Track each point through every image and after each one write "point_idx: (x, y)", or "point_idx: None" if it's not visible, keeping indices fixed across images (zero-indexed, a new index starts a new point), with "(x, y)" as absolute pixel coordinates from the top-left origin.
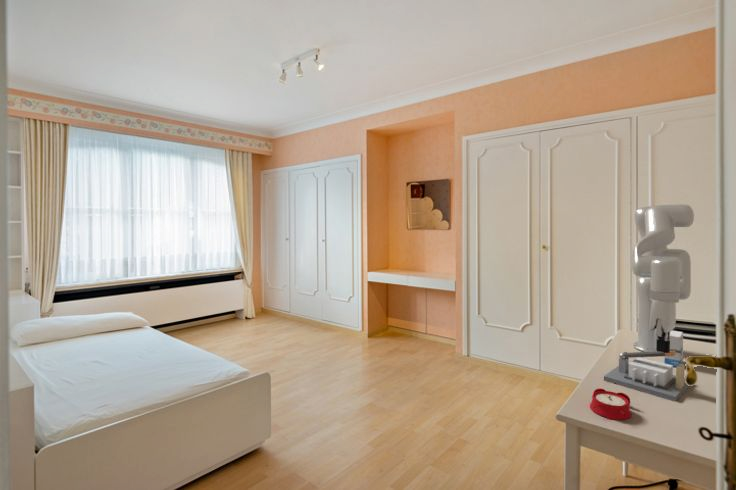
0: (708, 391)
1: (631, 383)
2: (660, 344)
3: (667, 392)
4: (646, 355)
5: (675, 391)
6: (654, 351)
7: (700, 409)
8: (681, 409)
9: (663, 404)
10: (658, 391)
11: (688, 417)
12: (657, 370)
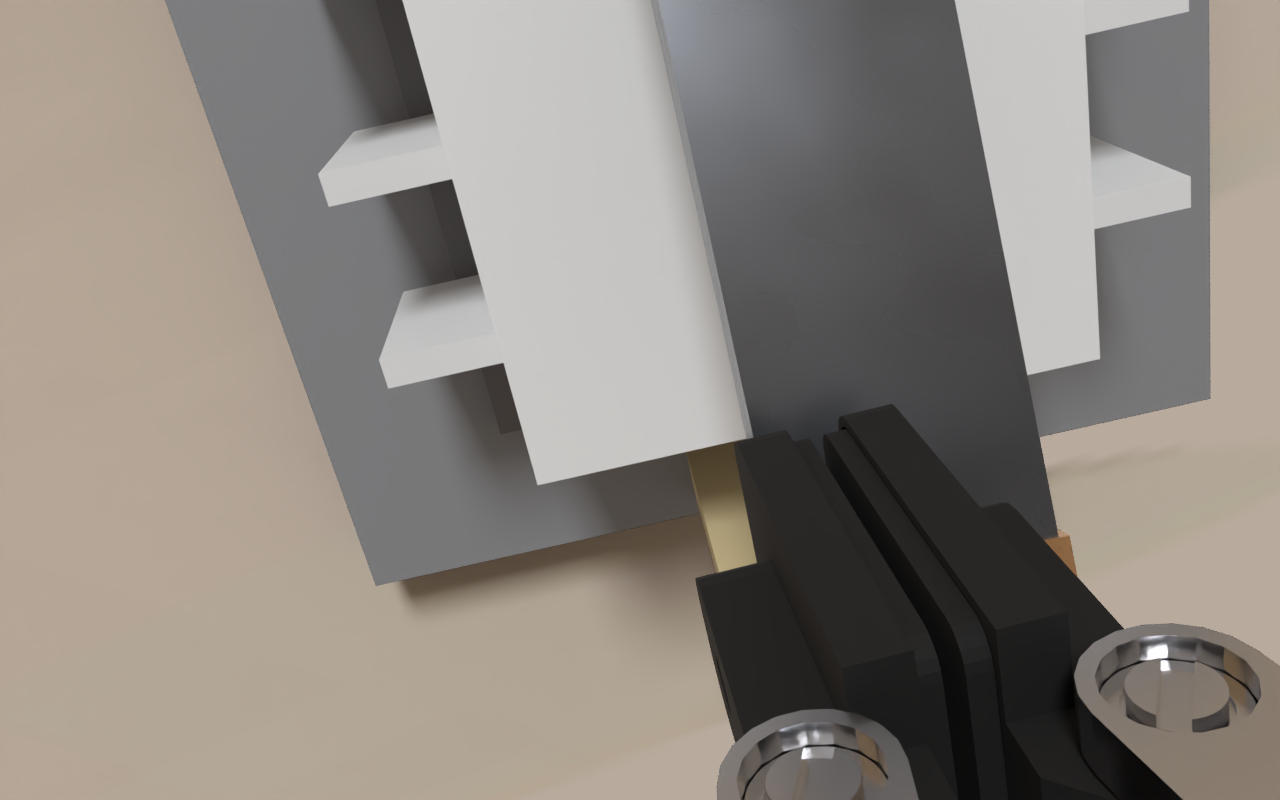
0: None
1: (195, 3)
2: (733, 710)
3: (417, 471)
4: (675, 105)
5: (554, 505)
6: (986, 191)
7: (446, 757)
8: (236, 679)
9: (152, 528)
10: (324, 398)
11: (115, 795)
12: (541, 359)
